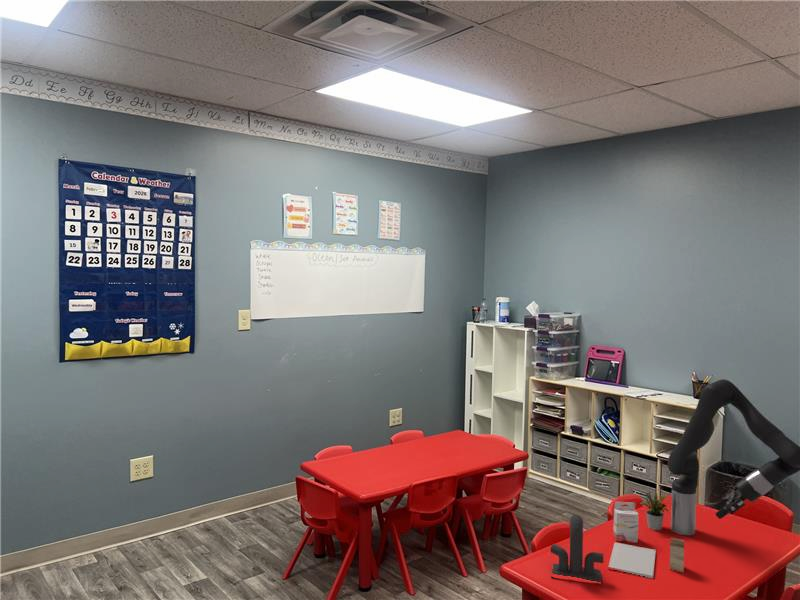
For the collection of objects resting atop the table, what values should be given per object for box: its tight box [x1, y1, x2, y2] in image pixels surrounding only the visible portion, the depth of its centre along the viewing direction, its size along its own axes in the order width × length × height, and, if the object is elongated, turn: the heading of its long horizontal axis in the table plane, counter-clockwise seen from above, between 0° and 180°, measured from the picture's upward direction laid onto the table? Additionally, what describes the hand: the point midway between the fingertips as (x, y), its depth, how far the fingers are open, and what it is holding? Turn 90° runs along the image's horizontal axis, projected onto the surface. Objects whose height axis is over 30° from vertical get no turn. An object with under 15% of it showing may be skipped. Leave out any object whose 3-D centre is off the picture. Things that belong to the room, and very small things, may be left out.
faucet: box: [550, 513, 604, 583], centre depth 217 cm, size 18×16×20 cm
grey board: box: [607, 541, 657, 579], centre depth 225 cm, size 22×15×1 cm
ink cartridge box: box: [612, 501, 639, 543], centre depth 242 cm, size 9×5×15 cm, turn 84°
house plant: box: [635, 488, 671, 531], centre depth 254 cm, size 14×14×16 cm
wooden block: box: [669, 537, 685, 573], centre depth 219 cm, size 4×4×10 cm
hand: (716, 512), depth 213 cm, fingers open, 8 cm apart
